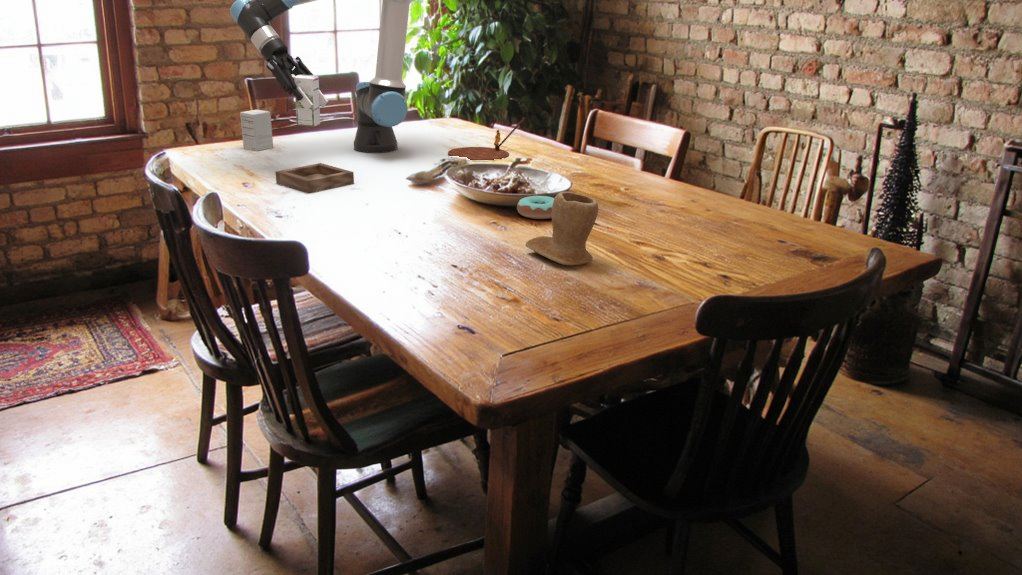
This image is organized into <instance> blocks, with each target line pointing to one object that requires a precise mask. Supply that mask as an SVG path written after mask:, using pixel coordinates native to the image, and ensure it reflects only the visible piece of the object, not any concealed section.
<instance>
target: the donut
mask: <svg viewBox="0 0 1022 575" xmlns="http://www.w3.org/2000/svg"><path fill="white" fill-rule="evenodd" d="M554 198H555V197H551V196H548V195H547V196H546V195H532V196H526V197H523V198H521V199H519V201H518V202H517V205H516V210H517V213H519V215H521V216H523V217H525V218H527V219H532V220H549V219H552V205H553V201H554Z"/></svg>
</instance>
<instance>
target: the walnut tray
mask: <svg viewBox="0 0 1022 575" xmlns="http://www.w3.org/2000/svg"><path fill="white" fill-rule="evenodd" d="M274 172H275V173H274V174H275V181H276V182H275V184H277V185H281V186H283V187H286V188H290V189H294V190H297V191H300V192H303V193H307V194H312V192H313V193H317V192H321V190H322V191H327V190H331V189H336V188H340V187H345V186H349V185H350V186H351V185H354V184H355V176H354V173H355V172H354V171H351V170H347V169H344V168H340V167H337V166H334V165H329V164H325V163H322V162H318V163H314V164H308V165H303V166H297V167H292V168H287V169H282V170H277V171H274ZM335 187H336V188H335ZM326 189H327V190H326ZM316 191H317V192H316Z"/></svg>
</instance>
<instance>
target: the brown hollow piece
mask: <svg viewBox="0 0 1022 575" xmlns="http://www.w3.org/2000/svg"><path fill="white" fill-rule="evenodd" d="M553 198H554V201H553V205H552V218H551V224H552V226H551V227H552V236H548V235H547V236H536V237H533V238H531V239H528V240H527V241H526V242H525V247H526V248H528V249H530V250H531V251H533V252H534V253H537V254H539V255H541V256H542V257H545V258H546V259H548V260H550V261H552V262H555V263H558V264H560V265H564V266H580V265H585V264H588V263H589V262H592V260H593V259H594V258H593V255H592V254H591V253H590V252H589V251H588V250H587V249H586V248H587V246H586V245H587V241H588V238H589V236H590V234H591V231H592V229H593V227H594V226H595V223H596V221H597V218H598V215H599V203H598V201H597V200H596V199H595V198H593V197H590V196H588V195H585V194H581V193H576V192H574V191H573V192H572V191H560V192H558V193H557V194H556V195H555V197H553Z"/></svg>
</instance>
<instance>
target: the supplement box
mask: <svg viewBox="0 0 1022 575" xmlns="http://www.w3.org/2000/svg"><path fill="white" fill-rule="evenodd" d="M239 115H240V124H241V126H240V127H241V136H242V144H243V149H244V150H245V149H246V150H249V151H254V152H260V151H265V150H269V149H273V148H274V139H273V129H272V128H273V127H272V117H271V112H270V111H268V110H262V109H252V110H245V111H241V112H239Z"/></svg>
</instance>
